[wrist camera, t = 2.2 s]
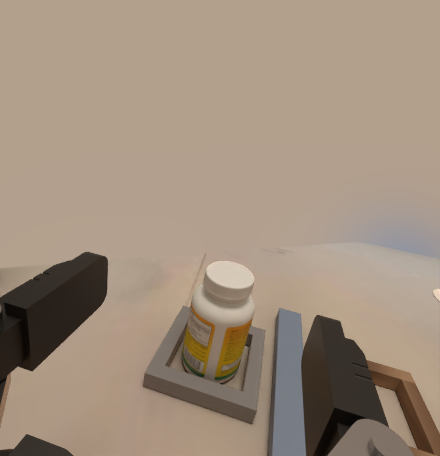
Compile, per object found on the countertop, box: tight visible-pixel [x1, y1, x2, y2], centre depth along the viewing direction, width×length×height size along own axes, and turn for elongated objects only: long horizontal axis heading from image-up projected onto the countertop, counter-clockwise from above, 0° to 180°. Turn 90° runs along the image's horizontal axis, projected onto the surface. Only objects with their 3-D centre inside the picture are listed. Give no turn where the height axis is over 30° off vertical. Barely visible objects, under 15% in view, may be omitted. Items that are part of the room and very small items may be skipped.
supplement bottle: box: [182, 261, 255, 384], centre depth 25 cm, size 5×5×10 cm
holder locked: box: [366, 360, 440, 456], centre depth 24 cm, size 9×9×2 cm
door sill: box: [268, 308, 306, 456], centre depth 25 cm, size 18×2×2 cm, turn 167°
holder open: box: [143, 306, 265, 424], centre depth 26 cm, size 9×9×2 cm
